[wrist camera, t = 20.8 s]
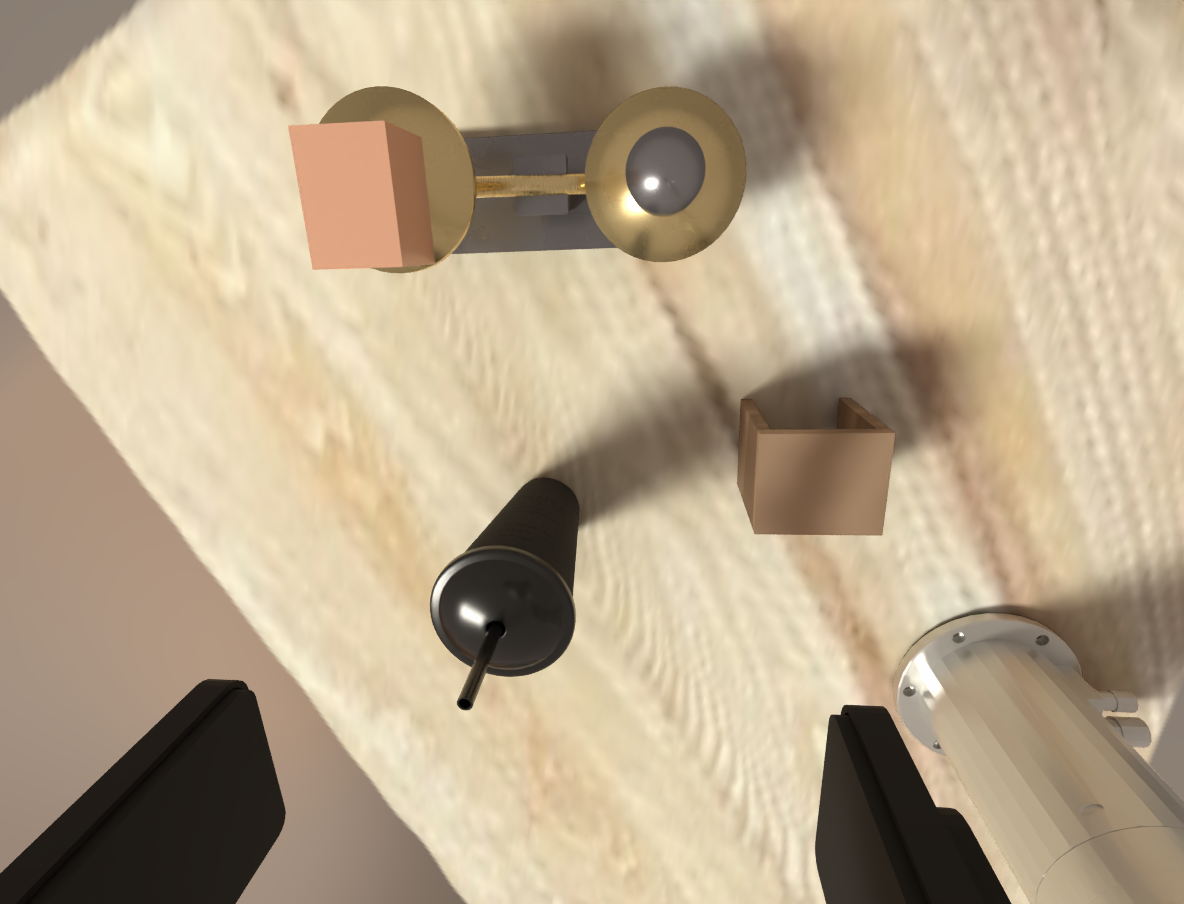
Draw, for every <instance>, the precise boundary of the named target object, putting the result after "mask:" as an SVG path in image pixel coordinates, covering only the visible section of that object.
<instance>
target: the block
mask: <svg viewBox="0 0 1184 904" xmlns="http://www.w3.org/2000/svg"><path fill="white" fill-rule="evenodd" d="M288 127H289V133H290V139H291V145H292V151H293V156H294V162H295V168H296V174H297V180H298V186H299V192H300V197H301V203H302V209H303V215H304V221H305V227H306V232H307V238H308V244H309V250H310V256H311V262H312V268H313V270H316V269H350V268H385V267H408V266H420V265H432V264H435V258H434V248H433V239H432V230H431V221H430V211H429V202H428V193H427V184H426V174H425V165H424V156H423V147H422V138H421V137H419V136H417V135H415V134H413V133H411V132H408V131H406V130H404V129H402V128H400V127H398V126H395V125H393V124H391V123H389V122H387V121H385V120H383V121H365V122H347V123H329V124H310V125H292V126H288Z"/></svg>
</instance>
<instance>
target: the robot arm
mask: <svg viewBox="0 0 1184 904" xmlns="http://www.w3.org/2000/svg"><path fill="white" fill-rule="evenodd" d="M893 699H894V703H895V706H896V710H897V712H898V714H899V716H900V718H901V720H902V722H903V724H904V726H905V727H906V729H907V730H908V731H909V733H910V734H911V735H912V736H913V737H914V738H915V739H916V740H917V741H918V742H920V743H921V744H922V745H923V746H925V747H927V748H928V749H930V750H932V751H934V752H936V753H939V754H941V755H944V756H946V757H947V758H948V760H949V762H950V764H951V765H952V767H953V769H954V771H955V772H956V774H957V776H958V778H959V779H960V781H961V783H962V785H963V786H964V788H965V790H966V792H967V793H968V795H969V797H970V799H971V800H972V802H973V804H974V806H975V807H976V809H977V811H978V813H979V815H980V816H981V818H982V820H983V822H984V823H985V825H986V827H987V829H988V830H989V832H990V834H991V836H992V837H993V839H994V841H995V843H996V844H997V846H998V848H999V850H1000V851H1001V853H1002V855H1003V857H1004V858H1005V860H1006V862H1007V864H1008V865H1009V867H1010V869H1011V871H1012V872H1013V874H1014V876H1015V878H1016V879H1017V881H1018V883H1019V885H1020V886H1021V888H1022V890H1023V892H1024V893H1025V895H1026V897H1027V899H1028V901H1029V902H1030V904H1184V801H1183V800H1182V799H1181V798H1180V797H1179V796H1178V795H1177V793H1176V792H1175V791H1174V790H1173V789H1172V788H1171V787H1170V786H1169V785H1168V784H1167V783H1166V782H1165V781H1164V780H1163V779H1162V778H1161V777H1160V776H1159V775H1158V774H1157V772H1156V771H1154V769H1153V768H1152V767H1151V766H1150V765H1149V764H1148V763H1147V762H1146V761H1145V760H1144V759H1143V758H1142V757H1141V756H1140V755H1139V754H1138V752H1137V751H1136V750H1135V749H1134V748H1133V747H1143V748H1145V747H1148V746H1149V745H1150V743H1151V733H1150V730H1149V728H1148V726H1147V725H1146V723H1145V722H1144V721H1143V720H1141V719H1140V718H1138V717H1113V716H1107V717H1103V716H1102V712H1103V710H1104V711H1112V712H1129V713H1133V712H1136V711H1137V710H1138V702H1137V699H1136V697H1135V696H1134V694H1133V693H1131V692H1129V691H1097V690H1096V689H1095V688H1093V687H1091V686H1090V685H1089V684H1088V683H1087V682H1086V681H1085V680H1084V679H1083V677H1082V671H1081V666H1080V664H1079V662H1078V660H1077V658H1076V656H1075V654H1074V652H1073V651H1072V650H1071V649H1070V648H1069V646H1068V645H1067V644H1066V643H1065V642H1064V641H1063V640H1062V639H1061V638H1060V637H1059V636H1058V635H1057V634H1055V633H1054V632H1053V631H1052V630H1050V629H1049V628H1047V627H1045V626H1044V625H1042V624H1041V623H1039V622H1036V621H1033V620H1031V619H1028V618H1025V617H1022V616H1016V615H1011V614H1001V613H986V614H978V615H970V616H967V617H963V618H960V619H956V620H953V621H950V622H948V623H946V624H944V625H942V626H939V627H937V628H936V629H934V630H933V631H931V632H929V633H928V634H926V635H925V636H923V637H922V638H921V639H920V640H919V641H918V642H917V643H916V644H915V645H913V646H912V647H911V648H910V650H909V651H908V652H907V654H906V655H905V656H904V658H903V659H902V661H901V663H900V665H899V667H898V669H897V672H896V674H895V679H894V684H893ZM285 813H286V812H285V806H284V802H283V798H282V795H281V791H280V787H279V784H278V779H277V775H276V772H275V768H274V764H273V761H272V756H271V753H270V749H269V745H268V742H267V737H266V734H265V730H264V726H263V722H262V719H261V714H260V711H259V707H258V703H257V700H256V696H255V694H254V692H252V691H251V690H249V689H248V687H247V685H246V684H245V683H244V682H243V681H239V680H218V679H217V680H216V679H207V680H205V681H202V682H201V683H199V684H198V685H197V686H196V687H195V688H194V689H193V690H192V691H190V692H189V693H188V694H187V695H186V696H185V697H184V698H183V699H182V700H181V701H180V702H179V703H178V704H177V705H176V706H175V707H174V708H173V709H172V710H171V711H170V712H169V713H168V714H166V715H165V717H163V718H162V719H161V720H160V721H159V722H158V723H157V724H156V725H155V726H154V727H153V728H152V729H151V730H150V731H149V732H148V733H147V734H146V735H145V736H143V738H142V739H140V740H139V741H138V742H137V743H136V744H135V745H134V746H133V747H132V748H131V749H130V750H129V751H128V752H127V753H126V754H125V755H124V756H123V757H122V758H120V759H119V760H118V762H116V763H115V764H114V765H113V766H112V767H111V768H110V769H109V770H108V771H107V772H106V773H105V774H104V775H103V776H102V777H101V778H100V779H99V780H98V781H96V782H95V783H94V784H93V785H92V786H91V787H90V788H89V789H88V790H87V791H86V792H85V793H84V794H83V795H82V796H81V797H80V798H79V799H78V800H77V801H76V802H75V803H74V804H72V805H71V807H69V808H68V809H67V810H66V811H65V812H64V813H63V814H62V815H61V816H60V817H59V818H58V819H57V820H56V821H55V822H54V823H53V824H52V825H51V826H49V827H48V828H47V829H46V830H45V831H44V832H43V833H42V834H41V835H40V836H39V837H38V838H37V839H36V840H35V841H34V842H33V843H32V844H31V845H30V846H29V847H28V848H27V849H25V850H24V851H23V852H22V853H21V854H20V855H19V856H18V857H17V858H16V859H15V860H14V861H13V862H12V863H11V864H10V865H9V866H8V867H7V868H6V869H5V870H4V871H3V872H1V873H0V904H236V902H237V900H238V899H239V897H240V896H241V894H242V893H243V891H244V889H245V888H246V886H247V885H248V883H249V882H250V880H251V878H252V877H253V875H254V874H255V872H256V871H257V869H258V868H259V866H260V864H261V863H262V861H263V860H264V858H265V856H266V855H267V853H268V852H269V850H270V849H271V847H272V846H273V844H274V842H275V841H276V839H277V838H278V836H279V834H280V832H281V830H282V828H283V825H284V821H285ZM815 854H816V863H817V869H818V873H819V877H820V881H821V885H822V889H823V893H824V896H825V900H826V904H1011V902H1010V900H1009V898H1008V897H1007V895H1006V893H1005V891H1004V889H1003V887H1002V885H1001V884H1000V882H999V880H998V878H997V876H996V874H995V872H994V871H993V869H992V867H991V865H990V863H989V861H988V860H987V858H986V856H985V854H984V852H983V850H982V848H981V847H980V845H979V843H978V841H977V839H976V837H975V836H974V834H973V832H972V830H971V828H970V826H969V825H968V823H967V822H966V820H965V819H964V817H963V816H962V815H961V814H960V813H959V812H958V811H957V810H956V809H952V808H942V807H936V806H935V804H934V802H933V800H932V798H931V796H930V794H929V792H928V790H927V788H926V786H925V784H924V782H923V780H922V778H921V776H920V774H919V772H918V770H917V768H916V766H915V764H914V762H913V760H912V758H911V756H910V754H909V752H908V750H907V748H906V746H905V744H904V742H903V740H902V738H901V736H900V734H899V732H898V730H897V728H896V726H895V724H894V722H893V720H892V718H891V716H890V714H889V712H888V711H887V709H886V708H884V707H883V706H860V705H844V706H843V708H842V711H841V715H831V716H830V718H829V725H828V734H827V743H826V752H825V761H824V770H823V779H822V787H821V796H820V805H819V814H818V823H817V832H816V841H815Z"/></svg>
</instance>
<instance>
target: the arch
mask: <svg viewBox="0 0 1184 904" xmlns="http://www.w3.org/2000/svg"><path fill="white" fill-rule="evenodd" d="M894 440H895V432H893V431H892V430H891V429H889V428H888V427H887V426H886V425H884V424H883V423H882V422H881V421H879V420H878V419H877V418H875V417H874V416H873V415H872V414H870V413H869V412H868V411H866V410H865V409H864V408H863V407H861V406H860V405H859V404H857V403H856V402H855V401H854V400H852V399H851V398H839V407H838V418H837V428H836V429H794V430H770V428H769V426H768V425H767V423H766V422H765V420H764V418H763V417H762V415H761V414H760V412H759V410H758V409H757V407H756V406H755V404H754V402H753V401H752V399H742V400H741V406H740V430H739V454H738V478H737V484H738V487H739V490H740V493H741V496H742V499H743V502H744V505H745V508H746V511H747V513H748V516H749V519H750V522H751V525H752V528H753V531H754V534H792V535H882V533H883V526H884V518H885V510H886V502H887V494H888V487H889V479H890V471H891V463H892V455H893V448H894Z"/></svg>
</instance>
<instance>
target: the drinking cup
mask: <svg viewBox="0 0 1184 904" xmlns="http://www.w3.org/2000/svg"><path fill="white" fill-rule="evenodd" d="M578 522H579V504H578V501H577V498H576V496H575V495H574V493H573V492H572V491H571V489H570V488H569V487H567V486H566V485H565V484H563V483H561V482H559V481H557V480H554V479H549V478H540V479H535V480H532V481H530V482H528V483H526V484H525V485H524V486H523V487H522V488H521V489H520V490H519V491H518V492H517V493H516V494H515V495H514V497H513V498H512V499H511V500H510V501H509V502H508V503H507V505H506V506H505V507H504V508H503V509H502V510H501V511H500V513H499V514H498V515H497V516H496V517H495V518H494V519H493V521H492V522H491V523H490V524H489V525H488V526H487V527H486V529H485V530H484V531H483V532H482V533H481V534H480V535H479V537H478V538H477V539H476V540H475V541H474V542H473V543H472V545H471V546H470V547H469V548H468V549H467V550H466V551H465V553H463V554H461V555H459V556H458V557H456V558H455V559H453V560H452V561H451V562H450V563H449V564H448V565H447V566H446V567H445V568H444V569H443V571H442V572H441V573H440V575H439V576H438V578H437V580H436V582H435V584H434V586H433V589H432V593H431V598H430V612H431V618H432V622H433V625H434V628H435V630H436V633H437V635H438V636H439V638H440V640H441V641H442V643H443V644H444V645H445V647H446V648H447V649H448V650H449V651H450V652H451V653H452V654H453V655H454V656H455V657H457V658H458V659H459V660H460V661H462V662H463V663H465V664H467V665H468V666H470V667H472V668H471V671H470V673H469V675H468V678H467V680H466V682H465V684H464V687H463V689H462V691H461V694H460V696H459V698H458V701H457V705H458V707H459V708H460V709H462V710H470V709H471V708H472V706H473V704H474V701H475V699H476V696H477V694H478V691H479V689H480V686H481V684H482V681H483V679H484V676H485V674H486V673H488V674H491V675H496V676H505V677H515V676H524V675H529V674H532V673H535V672H538V671H540V670H543V669H544V668H546V667H548V666H550V665H551V664H552V663H554V662H555V661H556V660H557V659H558V658H559V657H560V656H561V655H562V654H563V653H564V652H565V650H566V649H567V647H568V645H569V644H570V641H571V639H572V636H573V633H574V629H575V622H576V610H575V604H574V600H573V586H574V573H575V560H576V547H577V534H578Z"/></svg>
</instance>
